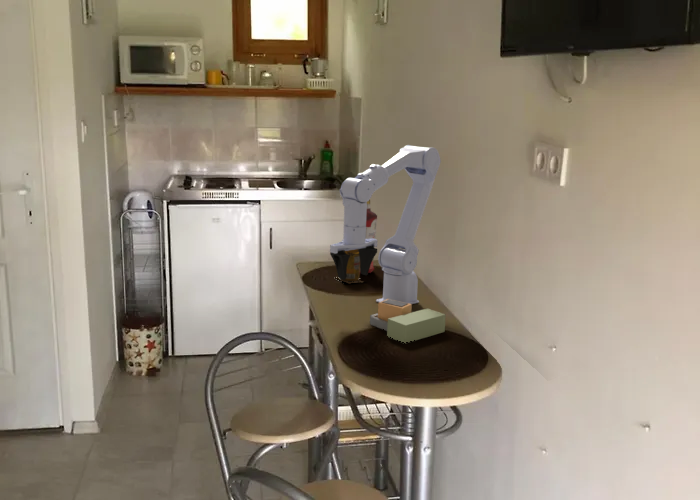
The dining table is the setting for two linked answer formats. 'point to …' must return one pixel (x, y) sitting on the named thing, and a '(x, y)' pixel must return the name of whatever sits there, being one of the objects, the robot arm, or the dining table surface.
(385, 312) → the orange box grey panel
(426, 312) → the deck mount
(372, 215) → the liquor
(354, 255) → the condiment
